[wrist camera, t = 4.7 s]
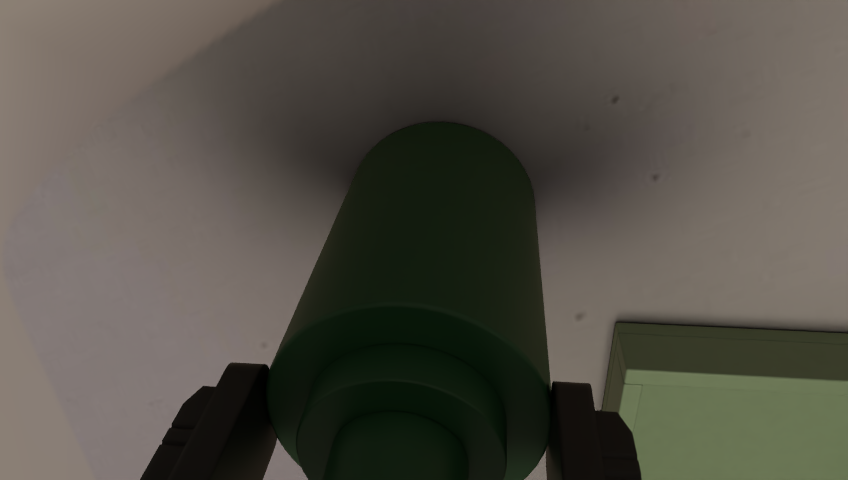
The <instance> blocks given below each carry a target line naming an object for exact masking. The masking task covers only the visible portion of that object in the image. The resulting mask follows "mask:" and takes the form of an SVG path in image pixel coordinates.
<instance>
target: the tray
mask: <svg viewBox="0 0 848 480" xmlns="http://www.w3.org/2000/svg"><path fill="white" fill-rule="evenodd" d="M602 411H611V412H618V414H619V415H620V416H621V418H622V419H623V420H624V422H625V423H626V425H627V426H628V427H629V429H630V430H631V431H632V433H633V438H634V442H635V447H636V452H637V460H638V461H639V466H640V471H641V479H642V480H848V333H827V332H805V331H784V330H763V329H742V328H720V327H699V326H678V325H657V324H635V323H616V325H615V331H614V337H613V344H612V350H611V356H610V363H609V369H608V375H607V381H606V388H605V394H604V400H603V407H602Z"/></svg>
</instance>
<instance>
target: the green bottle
mask: <svg viewBox="0 0 848 480" xmlns="http://www.w3.org/2000/svg"><path fill="white" fill-rule="evenodd" d="M266 403H267V411H268V415H269V418H270V422H271V425H272V427H273V429H274V432H275V434H276V436H277V438H278V439H279V441H280V443H281V444H282V446H283V447H284V449H285V450H286V451H287V453H288V454H289V455H290V456H291V457H292V459H293V460H294V461H295V462H296V463H297V464H298V465H299V466H300V467H302V470H303V472H304V473H305V475H306V476H307V478H308V480H524V479H525V478H526V477H527V476H528V475H529V474H530V473H531V472H532V471H533V469H534V468H535V467H536V466H537V464H538V463H539V461H540V459H541V458H542V456H543V455H544V453H545V450H546V448H547V445H548V443H549V436H550V427H551V417H552V399H551V383H550V372H549V360H548V349H547V337H546V326H545V314H544V303H543V291H542V280H541V268H540V257H539V245H538V234H537V222H536V211H535V200H534V194H533V189H532V186H531V183H530V180H529V177H528V175H527V173H526V171H525V169H524V168H523V166H522V165H521V163H520V162H519V160H518V159H517V158H516V157H515V156H514V154H513V153H512V152H511V151H510V150H509V149H508V148H506V147H505V146H504V145H503V144H502V143H501V142H499V141H498V140H496V139H495V138H493V137H492V136H490V135H488V134H486V133H484V132H482V131H480V130H477V129H474V128H471V127H468V126H465V125H460V124H455V123H445V122H433V123H423V124H418V125H413V126H410V127H407V128H403V129H401V130H399V131H397V132H395V133H392V134H391V135H389V136H388V137H386V138H384V139H383V140H381V141H380V142H379V143H378V144H377V145H376V146H374V147H373V148H372V149H371V150H370V152H369V153H368V154H367V155H366V156H365V158H364V159H363V161H362V162H361V164H360V165H359V167H358V169H357V172H356V174H355V176H354V178H353V181H352V183H351V185H350V187H349V190H348V192H347V194H346V196H345V199H344V201H343V203H342V206H341V208H340V210H339V212H338V215H337V217H336V219H335V221H334V224H333V226H332V228H331V231H330V233H329V235H328V237H327V240H326V242H325V244H324V246H323V249H322V251H321V253H320V256H319V258H318V260H317V262H316V265H315V267H314V269H313V271H312V274H311V276H310V278H309V281H308V283H307V285H306V287H305V290H304V292H303V294H302V296H301V299H300V301H299V303H298V306H297V308H296V310H295V312H294V315H293V317H292V319H291V322H290V324H289V326H288V328H287V331H286V333H285V335H284V337H283V340H282V342H281V344H280V347H279V349H278V351H277V353H276V356H275V358H274V360H273V362H272V365H271V367H270V370H269V374H268V378H267V383H266Z"/></svg>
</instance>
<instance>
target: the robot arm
mask: <svg viewBox="0 0 848 480" xmlns="http://www.w3.org/2000/svg"><path fill="white" fill-rule="evenodd" d="M268 374H269V367H268V366H267V365H266V364H249V363H230V364H229V365H228V366H227V367H226V369H225V371H224V373H223V375H222V377H221V379H220V381H219V382H218V384H217V386H216V387H210V386H203V387H202V388H200V389H199V390H198V391H197V392H196V393H195V394H194V395H192V396H191V397H190V398H189V399H188V400H187V401H186V402H185V403H183V405H182V407H181V408H180V410H179V412H178V414H177V416H176V417H175V419H174V421H173V423H172V427H171V428H169V430H168V431H167V433H166V435H165V437H164V438H163V440H162V445H159V447H158V449H157V451H156V452H155V454H154V456H153V458H152V459H151V461H150V463H149V465H148V466H147V468H146V470H145V472H144V474H143V475H142V477H141V479H140V480H263V477H264V475H265V472H266V469H267V467H268V464H269V461H270V459H271V456H272V453H273V451H274V448H275V445H276V441H277V436H276V434H275V432H274V429H273V427H272V425H271V422H270V418H269V415H268V411H267V403H266V383H267V378H268ZM551 399H552V417H551V427H550V436H549V443H548V445H547V448H546V472H547V480H642V479H641V471H640V466H639V461H638V460H637V452H636V447H635V442H634V438H633V433H632V431H631V430H630V429H629V427H628V426H627V425H626V423H625V422H624V420H623V419H622V418H621V416H620V415H619V414H618V412H611V411H595V408H594V402H593V395H592V389H591V385H590V384H589V383H572V382H555V381H553V383H552V388H551Z"/></svg>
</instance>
